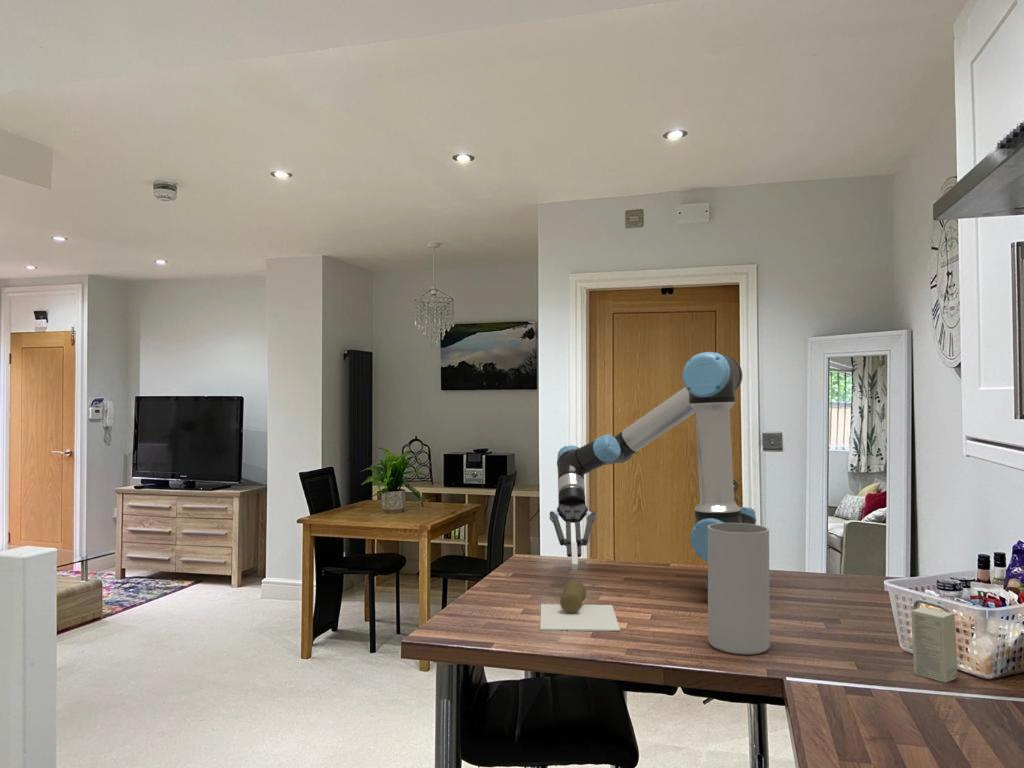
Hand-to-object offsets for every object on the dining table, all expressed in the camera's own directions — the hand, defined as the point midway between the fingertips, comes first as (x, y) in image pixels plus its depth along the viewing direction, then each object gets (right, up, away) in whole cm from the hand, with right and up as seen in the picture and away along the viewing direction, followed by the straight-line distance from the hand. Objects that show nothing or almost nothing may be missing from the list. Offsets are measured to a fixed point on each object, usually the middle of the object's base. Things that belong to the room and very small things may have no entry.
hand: (574, 566), depth 189 cm
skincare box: (+64, -8, -51) cm, 82 cm away
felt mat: (0, -9, -14) cm, 17 cm away
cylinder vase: (+32, -9, -34) cm, 47 cm away
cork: (0, -6, -2) cm, 6 cm away
